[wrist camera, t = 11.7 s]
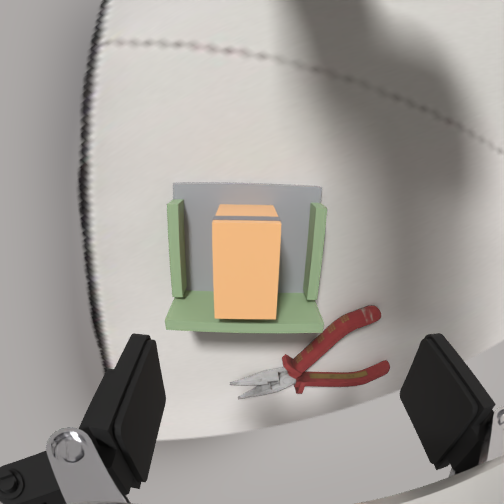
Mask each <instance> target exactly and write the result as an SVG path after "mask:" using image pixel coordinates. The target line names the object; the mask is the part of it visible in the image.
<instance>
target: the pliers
mask: <svg viewBox="0 0 504 504" xmlns="http://www.w3.org/2000/svg"><path fill="white" fill-rule="evenodd" d="M380 318H381V312H380V310H379V309H378V308H377V307H376V306H372V305H370V306H367V307H364V308H361V309H359V310H356V311H353V312H350V313H347V314H345V315H343V316H341V317H340V318H338V319H337V320H336V321H334V322H333V323H332V324H331V325H329V326H328V327H327V328H326V329H325V330H324V331H323V333H321V334H320V335H319V336H318V337H317V338H316V339H315V340H314V341H312V342H311V343H310V344H309V345H308V346H307V347H306V348H305V349H304V350H303V351H302V352H301V353H299V354H298V355H297V356H296V357H295V358H294V359H292V358H291V357H289V356H288V355H286V354H285V355H284V356H283V357H282V361H283V366H284V367H282V368H276V369H271V370H266V371H263V372H260V373H257V374H254V375H251V376H249V377H246V378H243V379H240V380H237V381H233V382H230V385H259V386H257V387H255V388H254V389H252V390H250V391H248V392H246V393H245V394H243V395H241V396H239V397H238V399H243V398H248V397H254V396H259V395H264V394H269V393H273V392H276V391H279V390H282V389H284V388H286V387H288V386H291V385H293V384H294V387H295V390H296V393H297V394H302V393H303V390H304V387H305V386H318V387H348V386H357V385H362V384H366V383H368V382H370V381H373V380H375V379H377V378H379V377H381V376H383V375H385V374H387V373H388V372H389V369H390V365H389V363H388V361H386V360H385V361H382V362H380V363H378V364H376V365H373V366H371V367H369V368H366V369H364V370H361V371H357V372H349V373H336V372H305V370H307V369H308V368H309V367H310V366H311V365H312V364H314V363H315V362H316V361H317V360H318V359H319V358H320V357H321V356H323V355H324V354H325V353H326V352H327V351H328V350H329V349H330V348H331V347H332V346H334V345H335V344H336V343H337V342H338V341H339V340H340V339H341V338H343V337H344V336H345V335H347V334H348V333H350V332H352V331H353V330H355V329H357V328H361V327H363V326H366V325H369V324H371V323H374V322H376V321H378V320H379V319H380ZM272 381H275V382H272Z"/></svg>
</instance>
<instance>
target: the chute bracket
mask: <svg viewBox="0 0 504 504" xmlns="http://www.w3.org/2000/svg"><path fill="white" fill-rule="evenodd" d="M321 192H322V187H320V186H304V185H283V184H257V183H174V184H173V200H172V201H171V202H169V203H168V204H167V219H168V240H169V257H170V272H171V285H172V297H175V298H174V300H173V302H172V305H171V307H170V309H169V312H168V314H167V316H166V319H165V325H166V330H181V331H200V332H226V333H323V327H324V322H323V319H322V317H321V315H320V312H319V310H318V307H317V305H316V302H315V300H317V296H318V288H319V280H320V272H321V264H322V255H323V246H324V236H325V226H326V215H327V208H326V207H325V206H324V205H322V204H321ZM220 204H234V205H273V206H274V208H275V210H276V212H277V215H278V217H280V219H281V243H280V261H279V279H278V295H277V310H276V319H215V314H214V288H213V251H212V219H213V217H214V216H215V215H216V212H217V210H218V208H219V205H220Z"/></svg>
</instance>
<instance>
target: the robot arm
mask: <svg viewBox="0 0 504 504" xmlns="http://www.w3.org/2000/svg"><path fill="white" fill-rule="evenodd" d="M400 398H401V401H402V403H403V404H404V407H405V409H406V411H407V413H408V415H409V417H410V419H411V421H412V423H413V426H414V428H415V430H416V432H417V434H418V436H419V438H420V440H421V443H422V445H423V447H424V449H425V452H426V454H427V456H428V458H429V461H430V462H431V463H432V464H434V465H435V468H436V470H438V469H441V468H444V467H446V466H448V465H449V464H451V466H452V469H451V472H450V475H449V477H448V478H446V479H443V480H440V481H438V482H435V483H432V484H429V485H426V486H423V487H420V488H417V489H413V490H410V491H406V492H403V493H399V494H396V495H392V496H388V497H384V498H380V499H376V500H371V501H366V502H361V503H357V504H504V406H503V407H499V408H497V409H496V410H495V412H493V410H492V409H493V407H494V406H495V403H494V401H493V400H492V399H491V397H490V396H489V394H488V393H487V392H486V390H485V389H484V388H483V386H482V385H481V384H480V382H479V381H478V379H477V378H476V377H475V375H474V374H473V373H472V371H471V370H470V369H469V367H468V366H467V365H466V364H465V362H464V361H463V360H462V358H461V357H460V356H459V355H458V353H457V352H456V351H455V349H454V348H453V347H452V346H451V344H450V343H449V342H448V341H447V340H446V338H445V337H444V336H443V335H442V334H440V333H438V334H429V335H427V336H426V337H425V338H424V339H423V340H422V341H421V343H420V346H419V348H418V351H417V353H416V356H415V358H414V361H413V363H412V365H411V368H410V370H409V373H408V375H407V377H406V379H405V382H404V384H403V386H402V388H401V391H400ZM165 402H166V395H165V390H164V385H163V380H162V374H161V369H160V363H159V358H158V352H157V345H156V341H155V340H151V338H150V336H149V335H142V334H132V335H131V337H130V339H129V341H128V343H127V345H126V347H125V349H124V351H123V353H122V355H121V357H120V359H119V361H118V363H117V365H116V367H115V369H108V370H107V371H106V373H105V375H104V377H103V379H102V381H101V383H100V385H99V387H98V389H97V391H96V393H95V395H94V397H93V399H92V401H91V403H90V405H89V407H88V410H87V412H86V414H85V416H84V418H83V421H82V423H81V425H80V427H79V429H77V428H70V427H68V428H62V429H60V430H58V431H56V432H54V433H53V434H52V435H51V436H50V438H49V439H48V441H47V445H46V451H44V452H41V453H39V454H36V455H33V456H30V457H28V458H25V459H22V460H19V461H16V462H13V463H10V464H7V465H4V466H2V467H0V504H131V502H130V501H129V499H128V497H127V496H126V495H127V494H129V491H130V488H131V487H132V488H138V489H140V485H141V482H146V481H147V478H148V473H149V469H150V464H151V460H152V456H153V452H154V448H155V443H156V439H157V435H158V431H159V427H160V423H161V419H162V415H163V411H164V407H165Z"/></svg>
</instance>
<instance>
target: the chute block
mask: <svg viewBox="0 0 504 504" xmlns="http://www.w3.org/2000/svg"><path fill="white" fill-rule="evenodd" d="M280 243H281V219H280V217H278V215H277V212H276V210H275V208H274V206H273V205H234V204H220V205H219V208H218V210H217V212H216V215H215V216H214V217H213V219H212V251H213V288H214V314H215V319H276V310H277V295H278V279H279V261H280Z"/></svg>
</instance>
